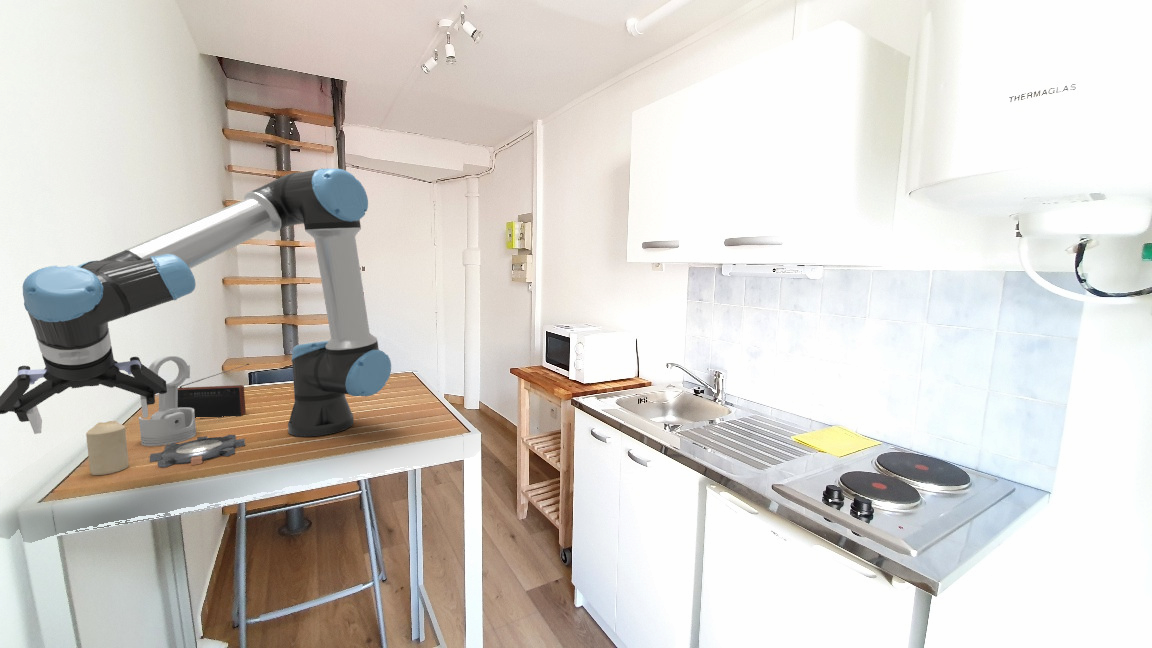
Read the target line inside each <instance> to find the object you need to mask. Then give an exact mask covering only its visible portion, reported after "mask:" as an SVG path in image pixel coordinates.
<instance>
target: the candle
mask: <svg viewBox="0 0 1152 648" xmlns="http://www.w3.org/2000/svg"><path fill="white" fill-rule="evenodd" d="M126 431H127V430H126V425H124V424H122V423H120V422H119V421H117V420H109V421H107V422H97V423H96V424H95V425H94V426H93V427H91V428H90V429H88V430H87V432H86V434H85V435H86V436H85V437H86V444H87V445H86V446H87V455H88V463H89V472H90V475H92V476H104V475H109V474H114V473H117V472H121V471H123V470H126V469H127V468H129V465H130V463H129V455H128V442H127V441H128V440H127V432H126Z"/></svg>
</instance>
